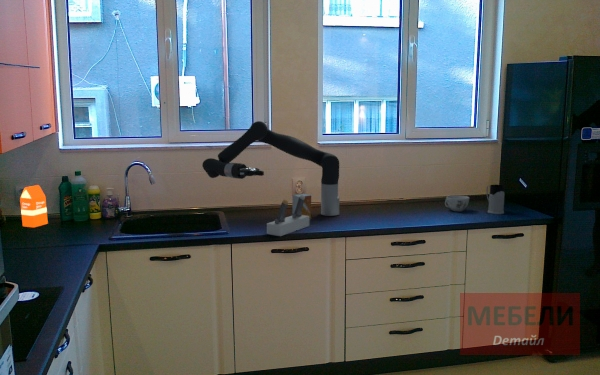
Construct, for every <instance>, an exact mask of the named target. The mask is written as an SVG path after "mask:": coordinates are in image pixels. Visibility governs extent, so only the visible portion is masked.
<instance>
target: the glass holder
mask: <svg viewBox="0 0 600 375" xmlns="http://www.w3.org/2000/svg"><path fill="white" fill-rule="evenodd" d="M505 187H506V186H505V185H503V184H490V185H487V186H486V189H485V190H486V191H485V192H486V198H487V201H488V210H487V213H488V214H492V215H493V214H495V215H502V214H505V211H504V207H505V206H504V205H505V189H506V188H505ZM488 189H489V191H488ZM488 192H489V194H488Z"/></svg>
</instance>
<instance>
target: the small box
mask: <svg viewBox="0 0 600 375" xmlns="http://www.w3.org/2000/svg"><path fill="white" fill-rule="evenodd" d="M301 195H304V196H305V200H304V203H303V206H302V210H301V212H302V215H305V216H309V221H310V220H312V194H307V193H302V194H301V193H299V194H293V195H292V206H291V207H292V210H291V211H292V214H294V212H295V209H296V206H297V203H298V200H299V198H300V196H301ZM292 214H291V215H292Z"/></svg>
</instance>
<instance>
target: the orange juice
mask: <svg viewBox="0 0 600 375" xmlns="http://www.w3.org/2000/svg"><path fill="white" fill-rule="evenodd" d="M19 200H20V212H21V221H22V227H25V228H26V227H27V228H37V227H41V226H44V225H47V224H48V225H49V221H48V208H47V198H46V195H45V193H44V191H43V189H42V188H41V186H40V185H39V184H35V185H32V186H31V185H30V186H25V187H24V189H23V190H22V193H21V195H20V197H19Z"/></svg>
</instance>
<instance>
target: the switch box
mask: <svg viewBox="0 0 600 375" xmlns="http://www.w3.org/2000/svg"><path fill="white" fill-rule="evenodd" d="M307 227H310V220H309V216H305V215H302V212H301V215H300V216H297V217H296V214H291V215H290V216H286V217H285V216H284V220H283V221H281V222H279V220H278V219H277V218H275V219H274V220H273V221H270V222H267V223H266V234H267V235H271V236H277V237H282V236H285V235H289V234H291V233H294V232H296V230H297V231H299V230H302V229H305V228H307Z"/></svg>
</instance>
